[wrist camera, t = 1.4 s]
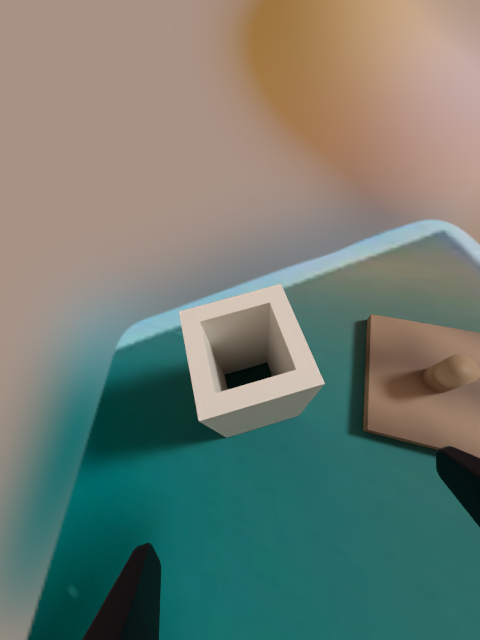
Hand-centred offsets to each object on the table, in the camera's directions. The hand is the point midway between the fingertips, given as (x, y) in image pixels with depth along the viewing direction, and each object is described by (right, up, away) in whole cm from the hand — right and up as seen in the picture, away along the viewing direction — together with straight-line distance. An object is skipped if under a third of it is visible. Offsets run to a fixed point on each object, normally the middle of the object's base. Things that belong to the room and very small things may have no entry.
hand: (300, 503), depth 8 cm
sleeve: (-1, -1, +14) cm, 14 cm away
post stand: (+14, 0, +13) cm, 19 cm away
